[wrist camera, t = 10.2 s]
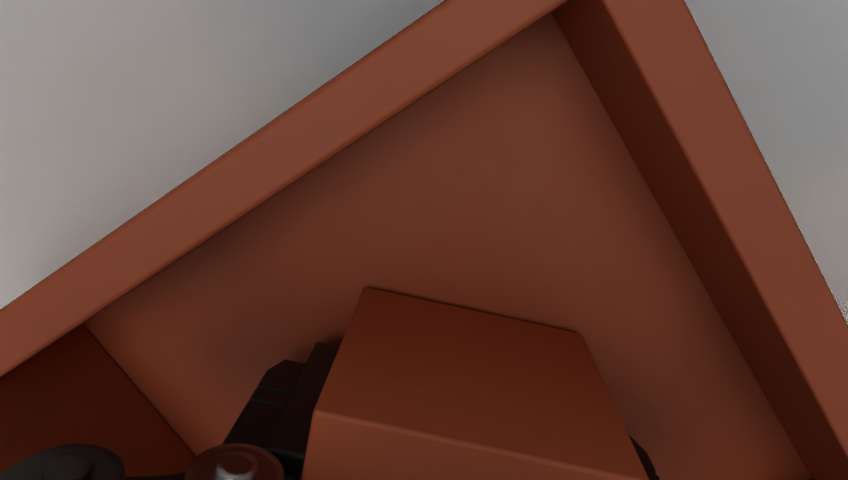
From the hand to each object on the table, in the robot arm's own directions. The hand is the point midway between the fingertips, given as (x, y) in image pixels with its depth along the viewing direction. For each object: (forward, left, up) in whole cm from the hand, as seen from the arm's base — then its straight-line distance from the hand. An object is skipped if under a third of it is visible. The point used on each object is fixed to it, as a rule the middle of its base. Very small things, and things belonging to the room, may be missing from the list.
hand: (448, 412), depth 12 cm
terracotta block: (0, 0, 0) cm, 0 cm away
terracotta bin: (0, 0, -1) cm, 1 cm away
